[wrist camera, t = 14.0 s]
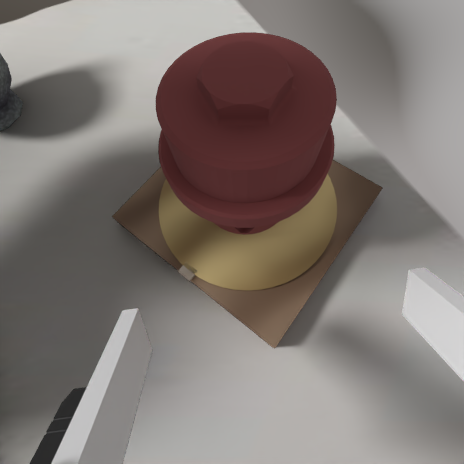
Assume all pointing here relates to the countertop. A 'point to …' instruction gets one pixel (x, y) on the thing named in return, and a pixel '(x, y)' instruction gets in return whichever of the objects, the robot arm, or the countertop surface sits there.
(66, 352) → the countertop surface
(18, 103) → the mortar and pestle
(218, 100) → the mechanical component
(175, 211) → the marked board
